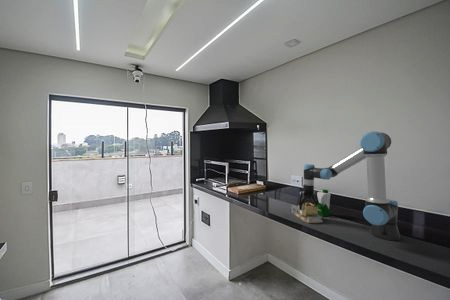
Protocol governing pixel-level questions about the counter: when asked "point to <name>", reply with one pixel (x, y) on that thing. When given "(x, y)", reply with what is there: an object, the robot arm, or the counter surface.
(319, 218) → the grey metal piece
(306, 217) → the bench plate
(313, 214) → the gold square frame
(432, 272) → the counter surface
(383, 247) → the counter surface
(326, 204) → the milk carton
